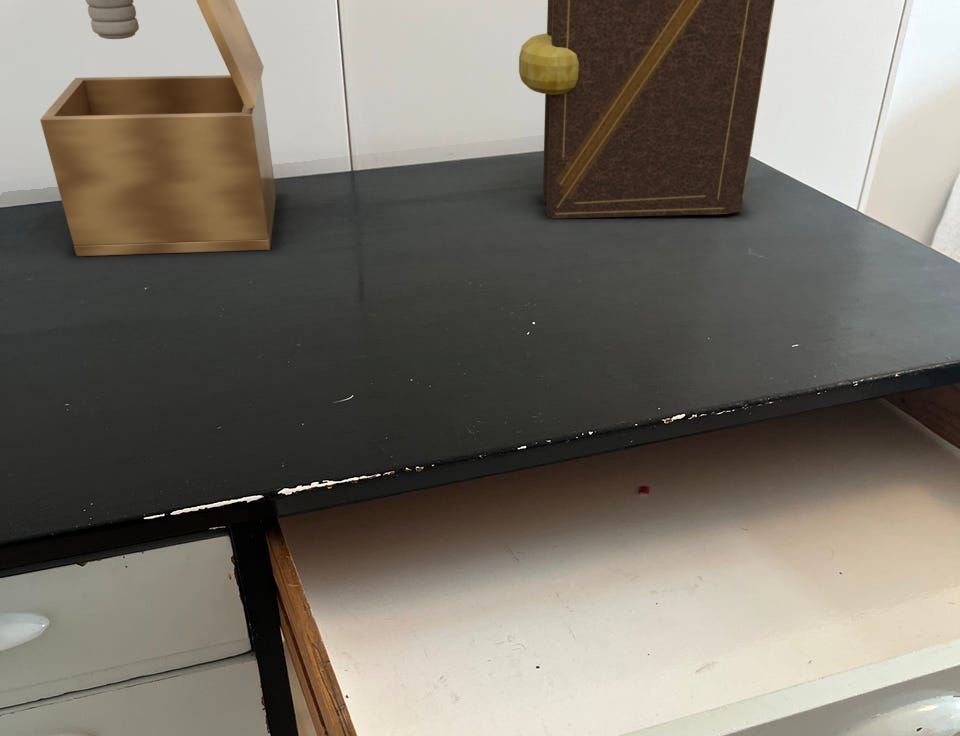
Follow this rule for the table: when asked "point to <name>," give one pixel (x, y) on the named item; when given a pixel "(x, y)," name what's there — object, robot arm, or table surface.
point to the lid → (234, 46)
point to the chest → (161, 165)
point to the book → (647, 104)
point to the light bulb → (113, 18)
